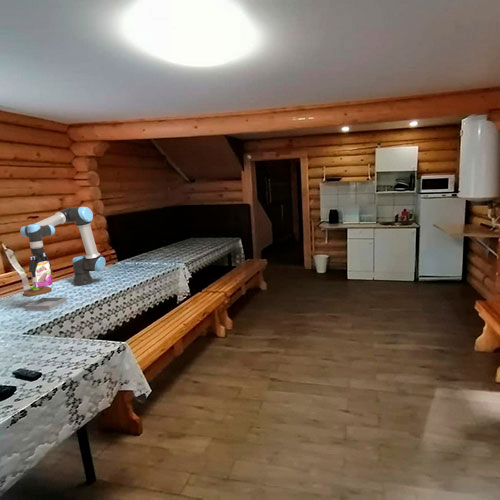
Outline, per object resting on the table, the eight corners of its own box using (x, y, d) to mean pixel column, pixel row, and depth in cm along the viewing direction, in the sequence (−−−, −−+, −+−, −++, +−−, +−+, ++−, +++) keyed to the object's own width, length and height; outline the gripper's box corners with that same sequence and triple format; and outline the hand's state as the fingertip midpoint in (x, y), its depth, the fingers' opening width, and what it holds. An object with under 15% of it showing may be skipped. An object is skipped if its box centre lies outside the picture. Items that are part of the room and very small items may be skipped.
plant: (48, 287, 314) (46, 274, 312) (54, 292, 299) (52, 278, 297) (20, 293, 302) (17, 279, 300) (25, 298, 287) (22, 284, 285)
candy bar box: (35, 288, 254) (31, 264, 251) (33, 287, 258) (29, 263, 255) (53, 284, 262) (49, 261, 259) (50, 283, 265) (47, 260, 262)
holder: (43, 302, 273) (43, 297, 272) (66, 301, 270) (66, 297, 269) (25, 310, 255) (24, 305, 255) (49, 310, 252) (49, 305, 252)
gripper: (43, 244, 267) (48, 274, 271) (18, 251, 244) (24, 284, 248) (53, 244, 266) (58, 274, 270) (29, 250, 243) (34, 283, 247)
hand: (42, 279), depth 259 cm, fingers closed on candy bar box, 11 cm apart
